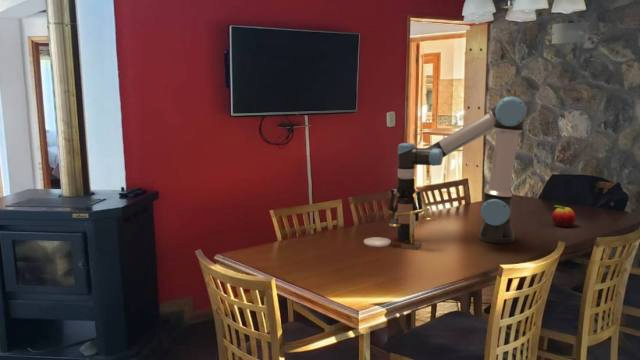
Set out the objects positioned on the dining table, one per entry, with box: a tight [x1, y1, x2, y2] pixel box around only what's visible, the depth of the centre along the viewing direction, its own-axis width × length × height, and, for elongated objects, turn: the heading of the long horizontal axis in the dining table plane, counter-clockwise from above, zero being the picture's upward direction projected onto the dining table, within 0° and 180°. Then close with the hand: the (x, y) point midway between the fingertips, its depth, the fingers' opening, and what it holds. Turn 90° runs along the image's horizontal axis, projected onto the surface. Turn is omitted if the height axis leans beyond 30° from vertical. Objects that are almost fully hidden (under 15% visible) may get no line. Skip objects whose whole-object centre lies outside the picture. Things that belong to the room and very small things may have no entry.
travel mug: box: [397, 197, 415, 243], centre depth 257 cm, size 8×8×20 cm
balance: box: [388, 207, 436, 251], centre depth 246 cm, size 20×6×18 cm, turn 63°
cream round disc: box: [363, 236, 392, 248], centre depth 255 cm, size 12×12×1 cm
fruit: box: [551, 204, 576, 228], centre depth 280 cm, size 11×11×10 cm
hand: (405, 227), depth 258 cm, fingers open, 8 cm apart
